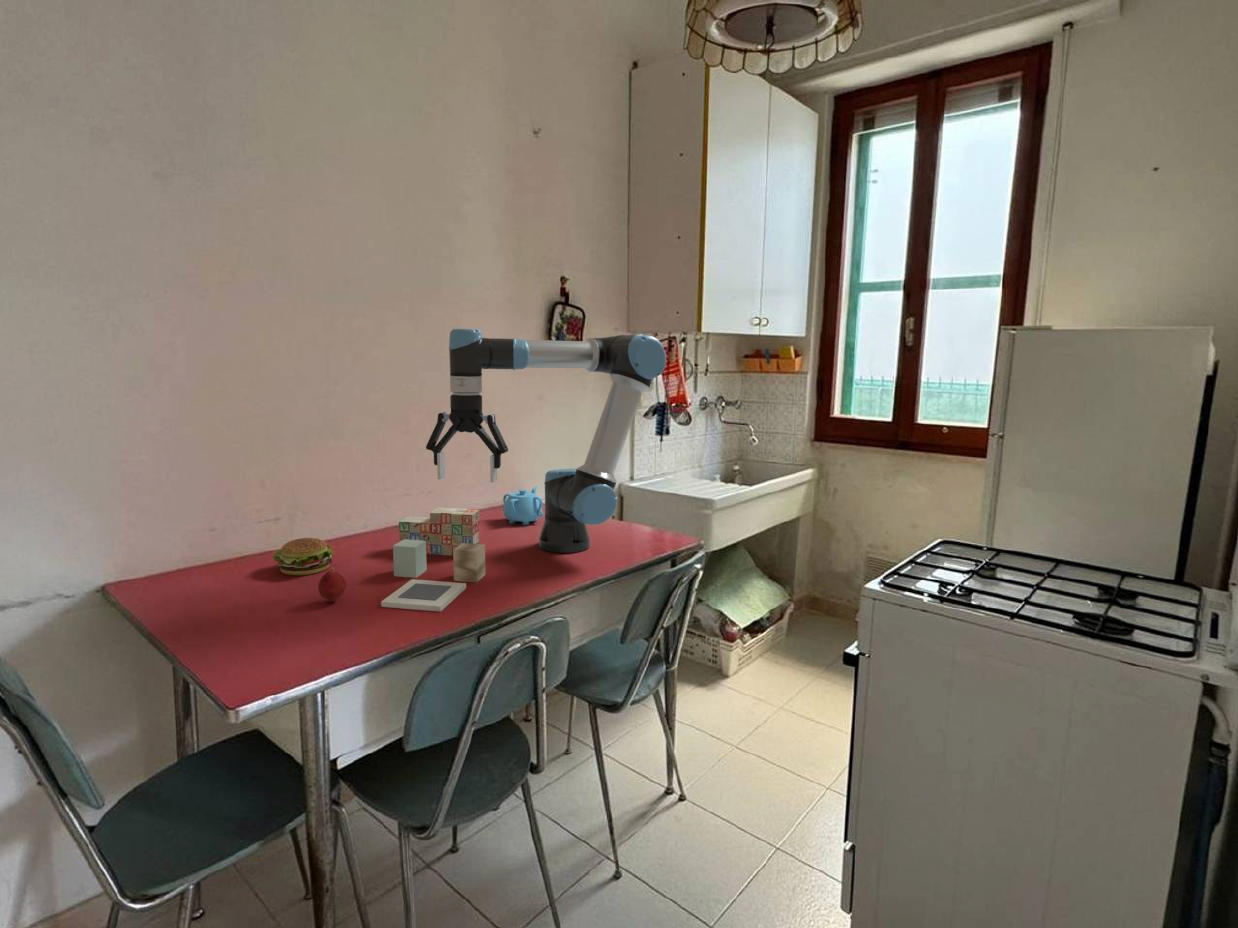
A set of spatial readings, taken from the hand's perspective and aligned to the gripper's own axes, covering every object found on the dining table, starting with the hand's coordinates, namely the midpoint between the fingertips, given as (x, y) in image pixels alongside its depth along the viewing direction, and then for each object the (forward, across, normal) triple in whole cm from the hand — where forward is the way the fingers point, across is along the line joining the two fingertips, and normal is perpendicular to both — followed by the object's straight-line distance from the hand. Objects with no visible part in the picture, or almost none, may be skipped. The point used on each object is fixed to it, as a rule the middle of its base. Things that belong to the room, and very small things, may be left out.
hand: (467, 480), depth 166 cm
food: (+26, -44, -3) cm, 51 cm away
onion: (+26, -24, -22) cm, 41 cm away
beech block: (+25, 0, 0) cm, 25 cm away
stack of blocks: (+26, -16, +19) cm, 36 cm away
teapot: (+25, -3, +57) cm, 63 cm away
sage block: (+25, -16, 0) cm, 30 cm away
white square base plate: (+25, -5, -15) cm, 30 cm away
